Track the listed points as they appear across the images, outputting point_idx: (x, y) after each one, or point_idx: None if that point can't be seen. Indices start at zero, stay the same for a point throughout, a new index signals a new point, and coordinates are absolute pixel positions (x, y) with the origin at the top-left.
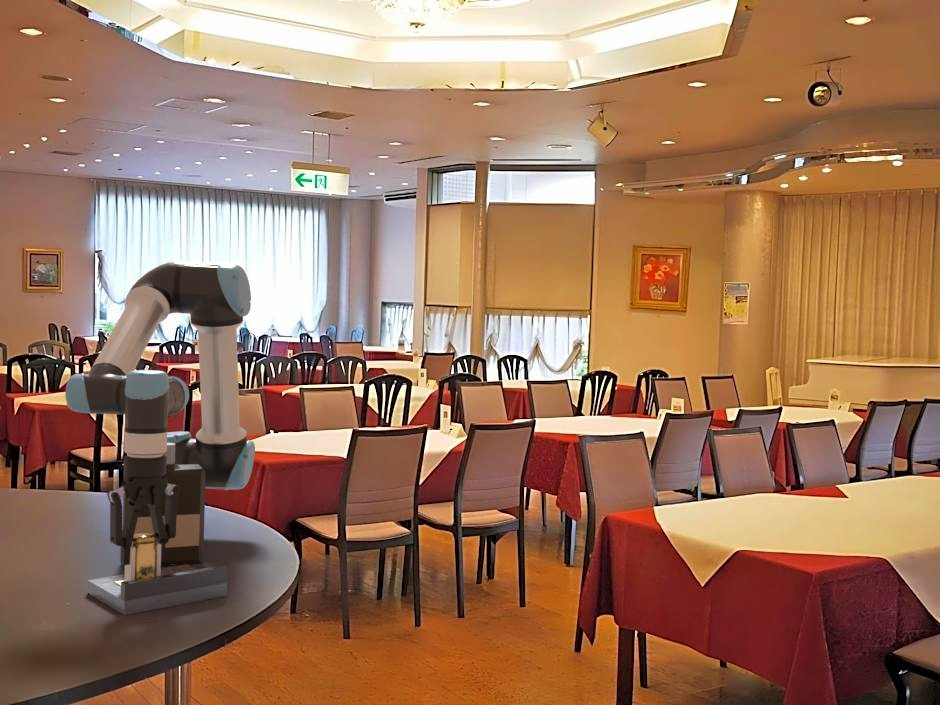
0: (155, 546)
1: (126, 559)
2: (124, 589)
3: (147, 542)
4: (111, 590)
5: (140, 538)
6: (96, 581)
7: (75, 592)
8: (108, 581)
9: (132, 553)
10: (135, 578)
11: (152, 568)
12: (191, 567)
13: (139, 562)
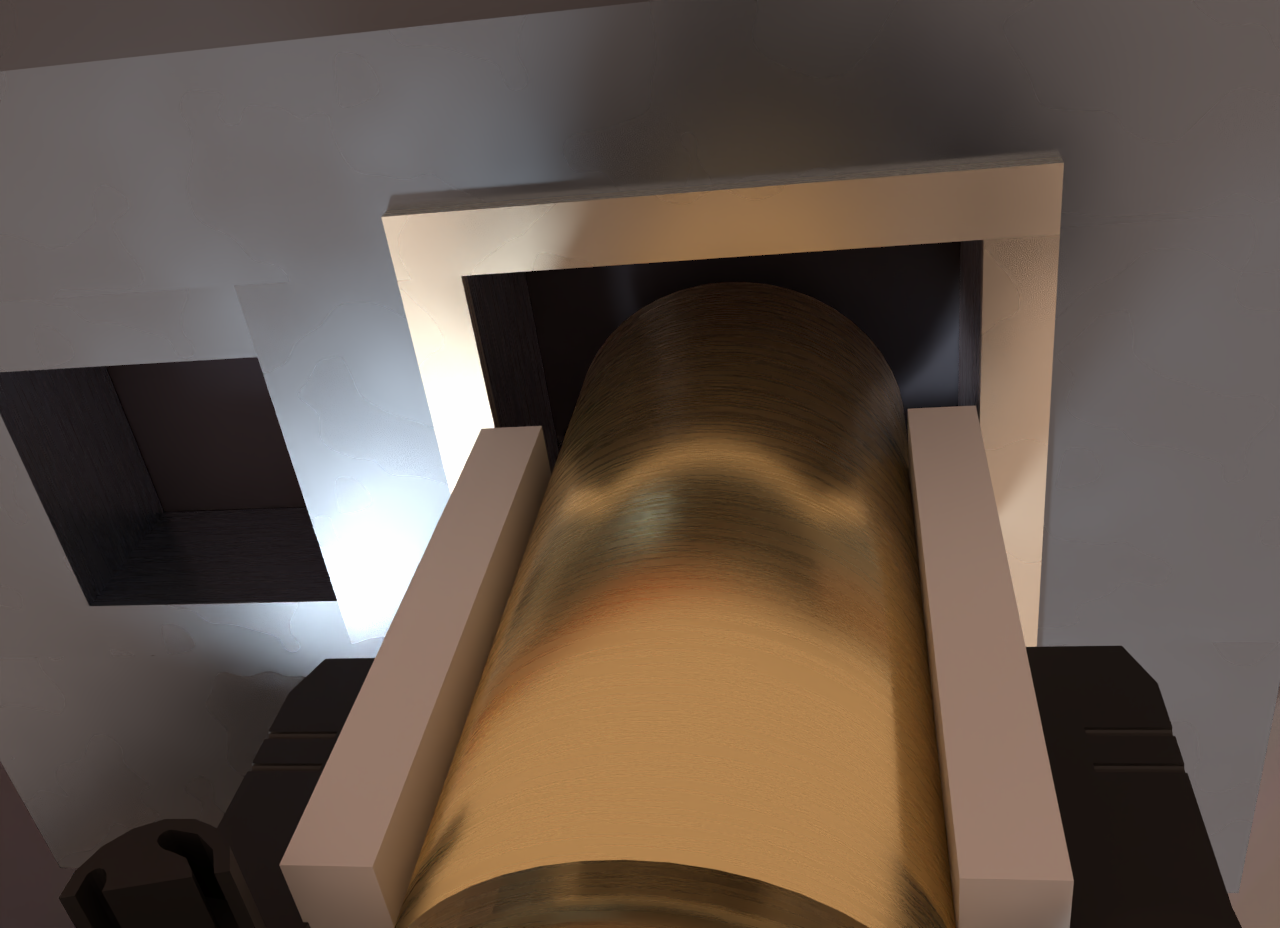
0: (434, 833)
1: (1105, 725)
2: None
3: (659, 898)
4: (1258, 403)
5: None
6: None
7: (1271, 849)
8: None
9: (1026, 768)
10: (888, 459)
11: (602, 482)
12: (17, 766)
13: (852, 589)
